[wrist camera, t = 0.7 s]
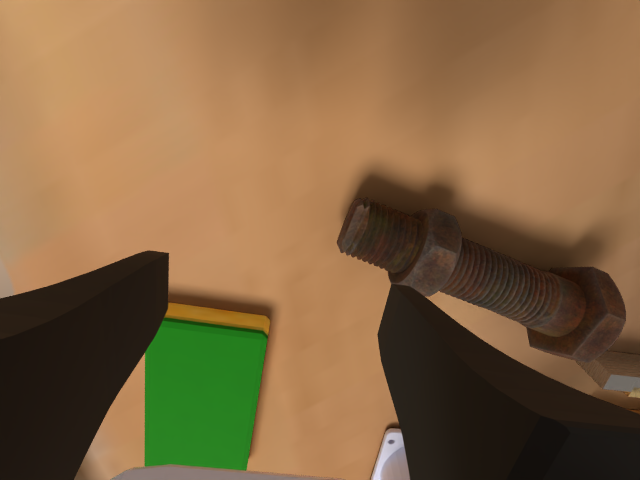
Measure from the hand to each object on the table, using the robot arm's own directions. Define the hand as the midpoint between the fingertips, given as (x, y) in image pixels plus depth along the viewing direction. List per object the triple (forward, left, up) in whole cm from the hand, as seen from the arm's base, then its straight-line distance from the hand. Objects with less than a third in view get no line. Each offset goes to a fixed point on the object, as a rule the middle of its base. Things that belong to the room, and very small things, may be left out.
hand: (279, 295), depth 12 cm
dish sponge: (-14, +4, -10) cm, 18 cm away
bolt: (-2, -10, -10) cm, 14 cm away
